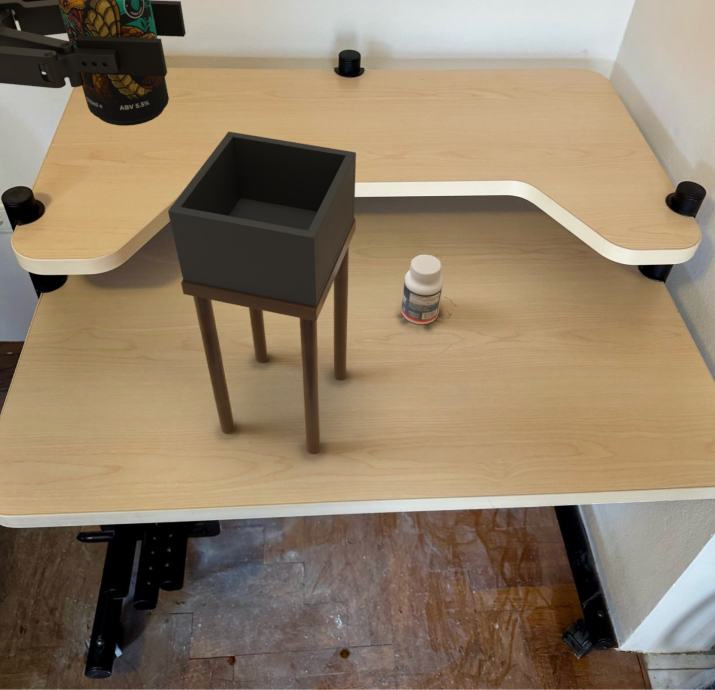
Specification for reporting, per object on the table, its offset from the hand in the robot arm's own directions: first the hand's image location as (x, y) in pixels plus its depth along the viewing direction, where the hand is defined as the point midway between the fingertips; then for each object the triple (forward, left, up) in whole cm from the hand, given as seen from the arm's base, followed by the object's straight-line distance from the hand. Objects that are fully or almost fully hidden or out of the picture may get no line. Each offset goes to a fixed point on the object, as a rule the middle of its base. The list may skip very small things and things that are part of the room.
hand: (172, 37), depth 56 cm
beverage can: (-1, +5, -7) cm, 8 cm away
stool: (-4, -9, -42) cm, 43 cm away
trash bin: (-4, -9, -18) cm, 20 cm away
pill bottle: (+16, -22, -42) cm, 50 cm away
